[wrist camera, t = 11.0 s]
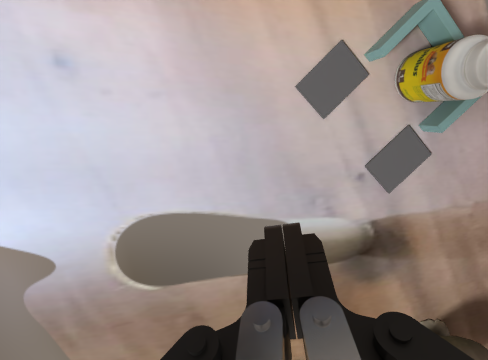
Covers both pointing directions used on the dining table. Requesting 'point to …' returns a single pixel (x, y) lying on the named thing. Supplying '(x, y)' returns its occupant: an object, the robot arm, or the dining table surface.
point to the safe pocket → (437, 32)
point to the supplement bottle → (445, 71)
